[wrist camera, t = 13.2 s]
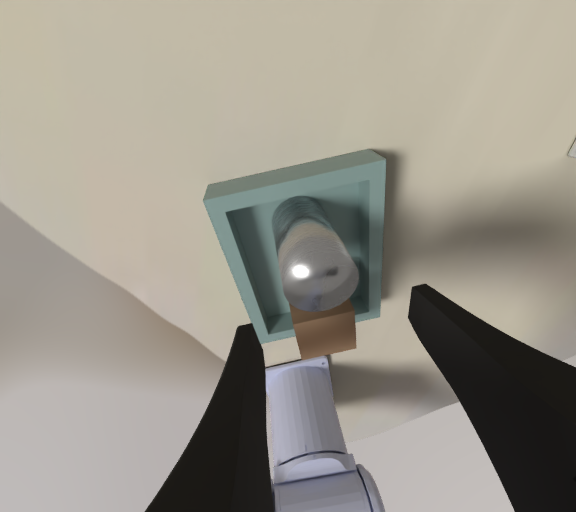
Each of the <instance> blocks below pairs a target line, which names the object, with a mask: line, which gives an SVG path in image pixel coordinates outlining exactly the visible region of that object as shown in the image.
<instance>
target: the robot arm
mask: <svg viewBox="0 0 576 512" xmlns="http://www.w3.org/2000/svg"><path fill="white" fill-rule="evenodd" d="M408 319H409V321H410V323H411V325H412V327H413V329H414V331H415V332H416V334H417V336H418V338H419V340H420V341H421V343H422V344H423V346H424V347H425V349H426V350H427V352H428V353H429V355H430V356H431V358H432V359H433V361H434V362H435V364H436V365H437V367H438V368H439V370H440V371H441V373H442V374H443V375H444V377H445V378H446V380H447V381H448V383H449V384H450V386H451V387H452V389H453V391H454V392H455V394H456V395H457V397H458V399H459V401H460V403H461V404H462V406H463V408H464V410H465V411H466V413H467V415H468V417H469V419H470V421H471V423H472V424H473V426H474V428H475V430H476V432H477V434H478V436H479V438H480V440H481V442H482V443H483V445H484V447H485V450H486V452H487V454H488V456H489V458H490V460H491V462H492V464H493V466H494V468H495V470H496V472H497V474H498V476H499V478H500V480H501V482H502V484H503V487H504V489H505V491H506V493H507V495H508V497H509V500H510V502H511V504H512V506H513V508H514V511H515V512H576V367H574V366H571V365H569V364H567V363H565V362H562V361H560V360H558V359H555V358H553V357H551V356H549V355H547V354H545V353H542V352H540V351H538V350H536V349H534V348H532V347H530V346H528V345H526V344H524V343H522V342H520V341H518V340H516V339H515V338H513V337H511V336H509V335H507V334H505V333H504V332H502V331H500V330H498V329H496V328H495V327H493V326H491V325H489V324H488V323H486V322H484V321H483V320H481V319H479V318H478V317H476V316H474V315H473V314H471V313H470V312H468V311H466V310H465V309H463V308H462V307H460V306H459V305H457V304H456V303H454V302H453V301H451V300H450V299H448V298H446V297H445V296H443V295H442V294H440V293H439V292H438V291H436V290H435V289H433V288H431V287H430V286H428V285H427V284H422V285H418V286H413V287H412V291H411V299H410V306H409V314H408ZM266 392H267V395H268V396H269V404H270V417H271V431H272V445H273V458H274V467H273V475H274V484H273V482H272V479H271V477H270V468H269V457H268V446H267V432H266ZM145 512H385V509H384V506H383V503H382V499H381V496H380V494H379V491H378V488H377V486H376V483H375V481H374V479H373V477H372V476H371V474H370V473H369V472H368V471H367V470H366V469H365V468H364V467H363V466H362V465H361V464H357V465H356V464H355V461H354V457H353V454H348V453H347V449H346V445H345V442H344V438H343V434H342V430H341V427H340V423H339V419H338V415H337V412H336V408H335V404H334V401H333V390H332V384H331V377H330V371H329V365H328V359H327V356H320V357H316V358H311V359H307V360H301V361H297V362H292V363H288V364H283V365H279V366H275V367H270V368H266V369H265V363H264V354H263V349H262V347H261V344H260V342H259V339H258V337H257V334H256V331H255V329H254V326H253V324H252V323H250V324H246V325H241V326H238V328H237V330H236V334H235V337H234V341H233V344H232V347H231V350H230V353H229V356H228V359H227V362H226V364H225V367H224V370H223V373H222V375H221V378H220V380H219V382H218V385H217V387H216V389H215V392H214V394H213V397H212V399H211V401H210V403H209V405H208V407H207V409H206V411H205V414H204V415H203V417H202V419H201V421H200V423H199V425H198V427H197V429H196V431H195V433H194V434H193V436H192V438H191V440H190V442H189V443H188V445H187V447H186V449H185V450H184V452H183V454H182V455H181V457H180V459H179V461H178V462H177V464H176V465H175V467H174V468H173V470H172V472H171V473H170V475H169V476H168V478H167V479H166V481H165V482H164V484H163V486H162V487H161V489H160V490H159V492H158V493H157V495H156V496H155V498H154V499H153V501H152V502H151V503H150V505H149V506H148V508H147V509H146V511H145Z"/></svg>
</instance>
